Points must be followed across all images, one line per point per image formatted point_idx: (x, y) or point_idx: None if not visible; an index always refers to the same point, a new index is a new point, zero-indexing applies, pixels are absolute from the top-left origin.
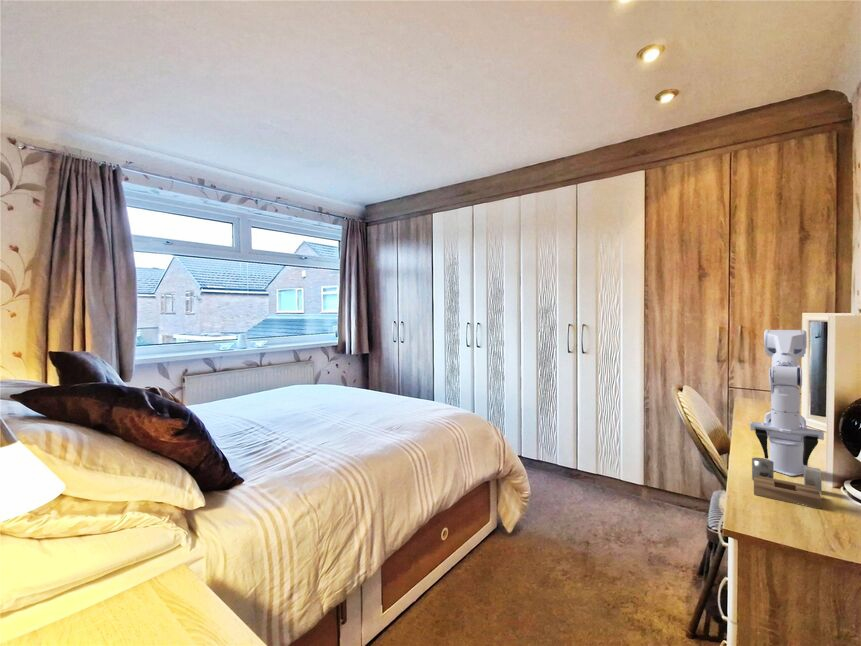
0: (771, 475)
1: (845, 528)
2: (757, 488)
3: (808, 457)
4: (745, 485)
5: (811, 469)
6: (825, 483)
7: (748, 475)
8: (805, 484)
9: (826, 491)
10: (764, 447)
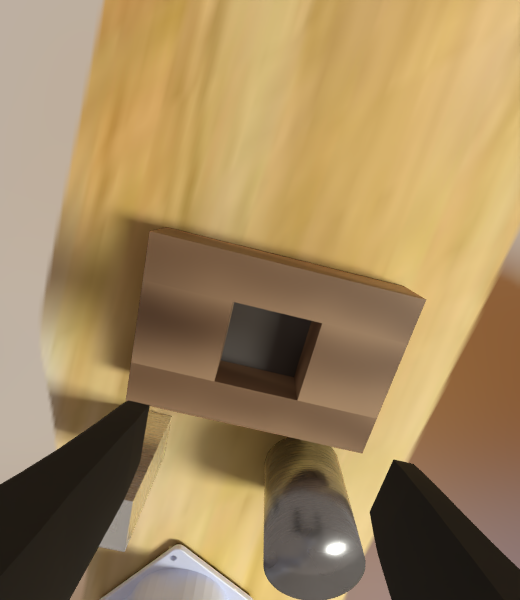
0: (280, 474)
1: (131, 11)
2: (404, 293)
3: (68, 445)
4: (396, 388)
5: None
6: None
7: None
8: (161, 437)
9: None
10: (507, 573)
